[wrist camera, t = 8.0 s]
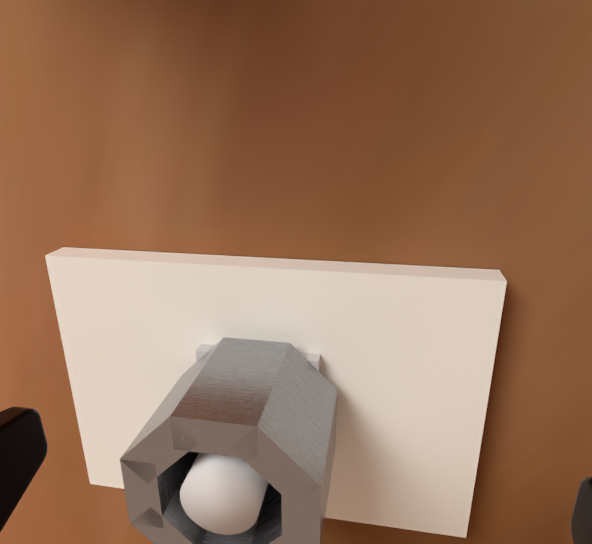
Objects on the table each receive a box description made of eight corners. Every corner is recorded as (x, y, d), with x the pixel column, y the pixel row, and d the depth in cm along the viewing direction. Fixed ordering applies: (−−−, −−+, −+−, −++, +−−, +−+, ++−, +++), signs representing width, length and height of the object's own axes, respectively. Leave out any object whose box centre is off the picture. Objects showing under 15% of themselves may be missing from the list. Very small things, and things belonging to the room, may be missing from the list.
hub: (338, 346, 18) (322, 433, 13) (334, 480, 20) (319, 595, 15) (179, 333, 19) (111, 409, 14) (191, 461, 21) (136, 563, 16)
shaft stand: (499, 269, 17) (562, 362, 11) (461, 515, 22) (492, 682, 15) (63, 247, 20) (-77, 310, 14) (103, 466, 25) (8, 590, 18)
